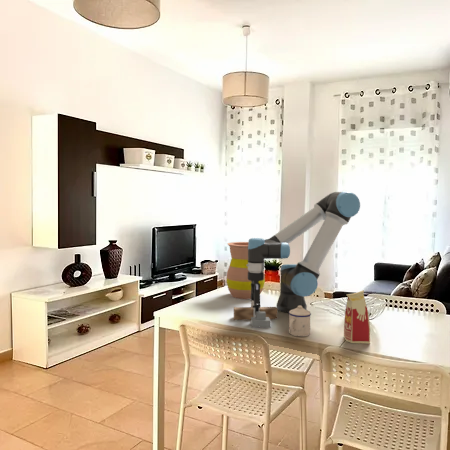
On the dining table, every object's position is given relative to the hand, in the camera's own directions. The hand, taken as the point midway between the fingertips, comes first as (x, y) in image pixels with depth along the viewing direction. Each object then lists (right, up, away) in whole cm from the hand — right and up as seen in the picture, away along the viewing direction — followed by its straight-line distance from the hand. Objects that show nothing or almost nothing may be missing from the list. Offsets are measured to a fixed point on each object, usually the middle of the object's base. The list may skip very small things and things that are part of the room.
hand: (255, 317), depth 202 cm
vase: (-2, +2, +46) cm, 46 cm away
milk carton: (+38, -3, -30) cm, 48 cm away
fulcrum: (+2, -1, -12) cm, 12 cm away
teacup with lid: (+16, -2, -23) cm, 28 cm away
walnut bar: (0, 0, 0) cm, 1 cm away
